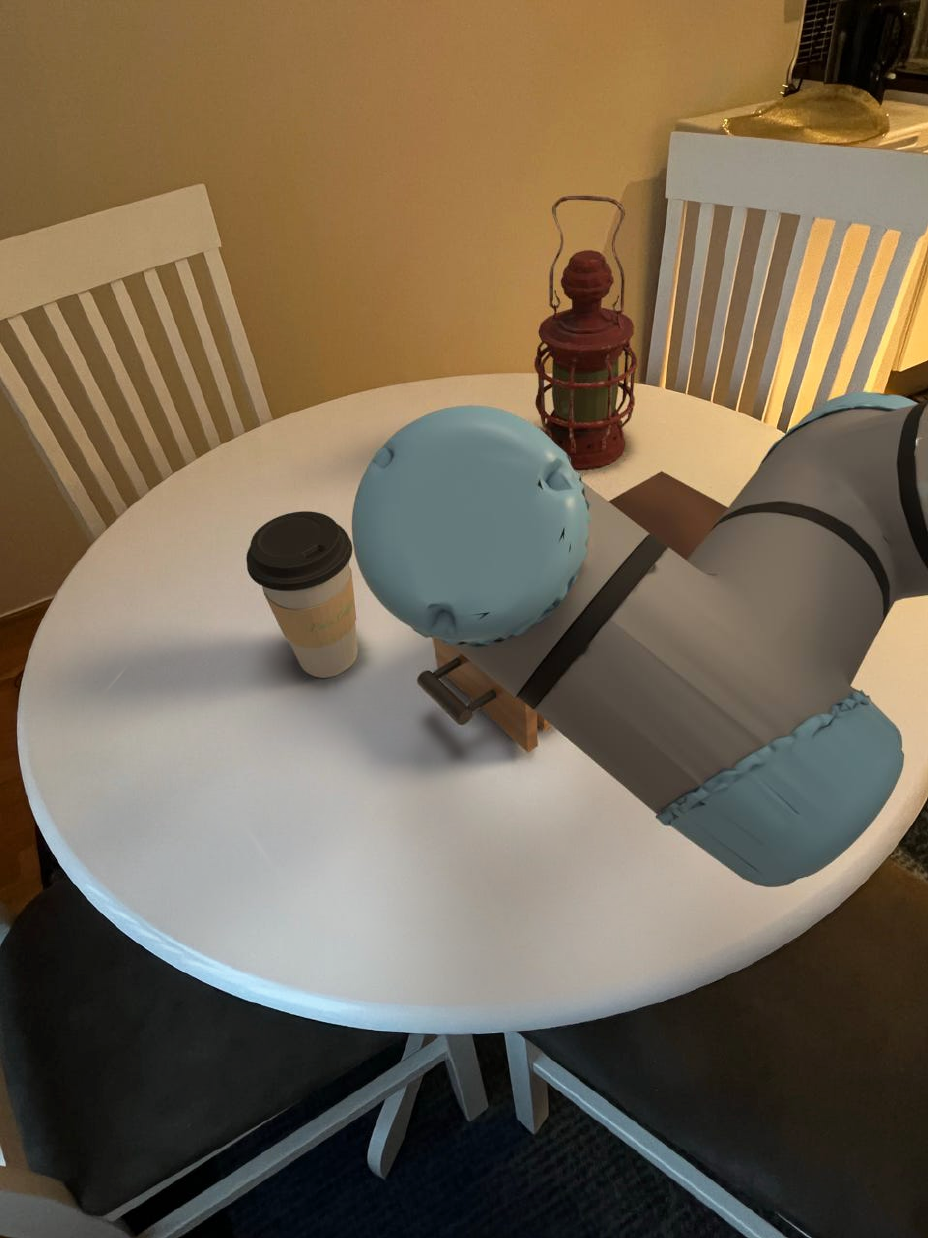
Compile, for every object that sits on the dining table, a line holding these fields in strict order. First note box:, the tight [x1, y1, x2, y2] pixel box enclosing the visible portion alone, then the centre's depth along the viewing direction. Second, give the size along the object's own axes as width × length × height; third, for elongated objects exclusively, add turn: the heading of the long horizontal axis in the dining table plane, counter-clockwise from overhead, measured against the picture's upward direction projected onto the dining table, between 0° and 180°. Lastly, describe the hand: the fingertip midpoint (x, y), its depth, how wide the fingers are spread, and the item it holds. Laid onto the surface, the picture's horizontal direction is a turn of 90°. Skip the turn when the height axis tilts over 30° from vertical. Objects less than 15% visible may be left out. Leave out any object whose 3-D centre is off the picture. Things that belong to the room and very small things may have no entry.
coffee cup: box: [245, 510, 359, 679], centre depth 78 cm, size 9×9×15 cm
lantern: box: [533, 195, 638, 470], centre depth 96 cm, size 12×12×30 cm
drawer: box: [416, 638, 553, 754], centre depth 75 cm, size 20×13×7 cm
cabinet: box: [607, 470, 729, 560], centre depth 82 cm, size 17×15×9 cm
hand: (542, 585), depth 61 cm, fingers open, 13 cm apart
